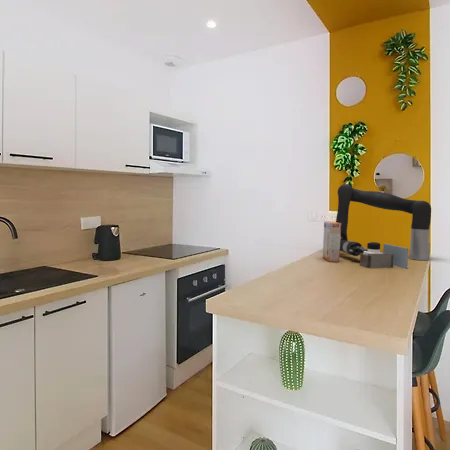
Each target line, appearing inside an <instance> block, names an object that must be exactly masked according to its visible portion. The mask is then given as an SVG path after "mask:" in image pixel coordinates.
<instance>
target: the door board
mask: <svg viewBox="0 0 450 450" xmlns="http://www.w3.org/2000/svg"><path fill="white" fill-rule="evenodd" d="M382 249H383V251H382V253H393V254H394V257H393V267H394V266H395V267H398V268H401V269H404V270H408V263H409V262H408V260H409V259H408V258H409V248H407V247H405V246H404V247H403V246H399V245H398V246H397V245H392V244H389V243H383V248H382Z"/></svg>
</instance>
